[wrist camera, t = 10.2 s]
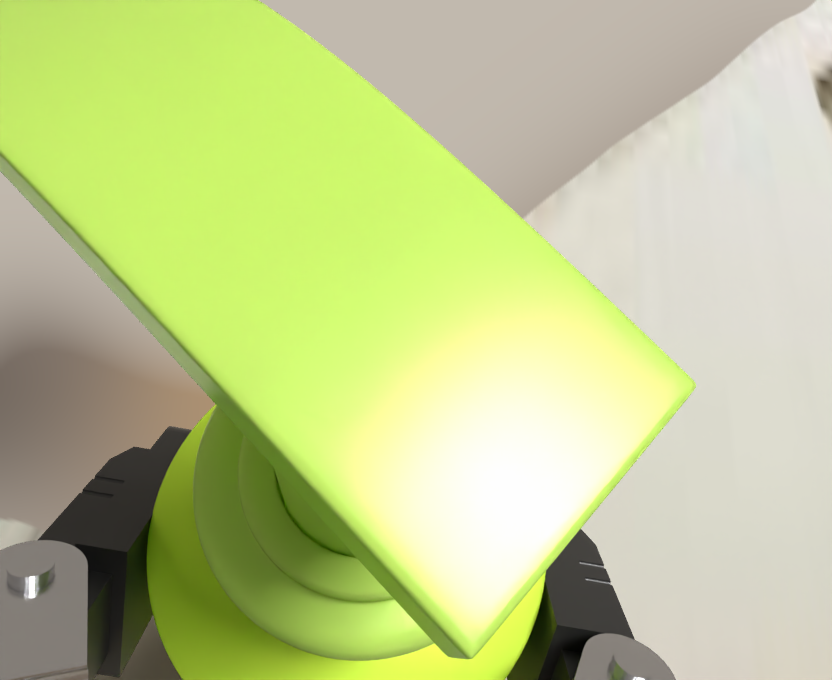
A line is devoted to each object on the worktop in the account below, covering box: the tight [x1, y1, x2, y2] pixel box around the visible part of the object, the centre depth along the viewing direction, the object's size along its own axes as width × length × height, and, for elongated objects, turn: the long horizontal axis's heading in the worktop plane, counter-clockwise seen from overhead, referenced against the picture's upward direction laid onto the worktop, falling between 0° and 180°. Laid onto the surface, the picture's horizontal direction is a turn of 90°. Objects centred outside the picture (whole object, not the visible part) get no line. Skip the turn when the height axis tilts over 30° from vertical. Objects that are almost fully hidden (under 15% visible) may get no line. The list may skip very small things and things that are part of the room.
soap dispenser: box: [0, 0, 696, 680], centre depth 12 cm, size 6×7×20 cm
